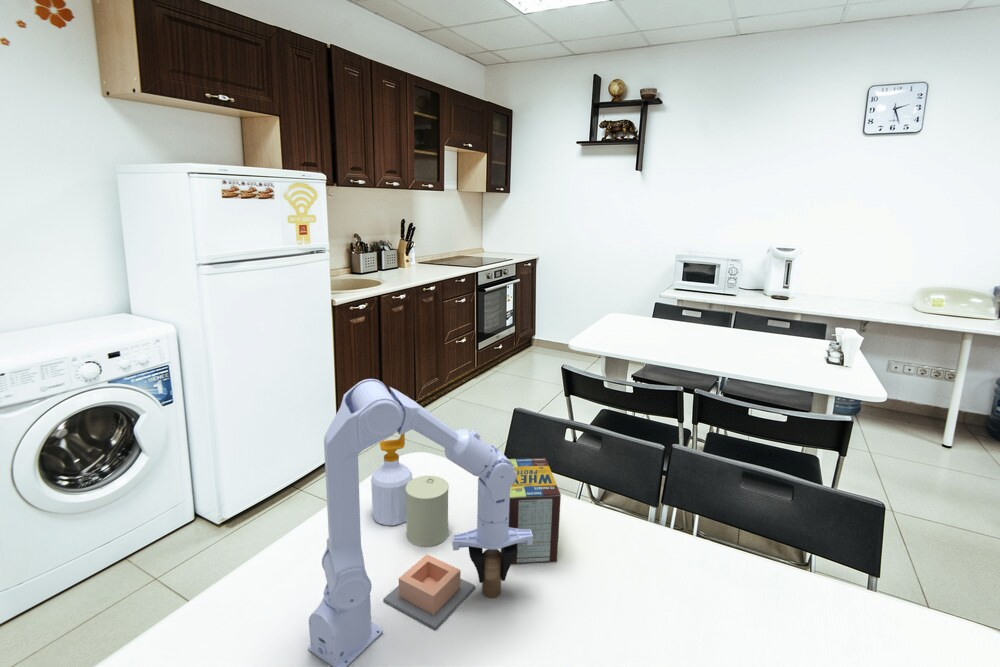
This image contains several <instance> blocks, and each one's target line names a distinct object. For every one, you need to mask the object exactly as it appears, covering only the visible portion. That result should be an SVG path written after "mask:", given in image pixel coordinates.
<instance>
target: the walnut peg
mask: <svg viewBox="0 0 1000 667" xmlns="http://www.w3.org/2000/svg"><path fill="white" fill-rule="evenodd" d="M483 557H484V560H483V583H481V589H482V590H481V592H482V595H483V596H484V597H486V598H487V599H488V598H489V599H496V598H497V597H498V596H500V595H501V593H502V592H501V591H502V580H501V566H502V553H501V550H500V549H495V550H491V549H484V551H483Z"/></svg>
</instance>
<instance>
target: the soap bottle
mask: <svg viewBox="0 0 1000 667" xmlns="http://www.w3.org/2000/svg"><path fill="white" fill-rule="evenodd" d="M405 440H406V438H405V433H404V434H401V435H400V436H399V438H398V439H389V440H381V441H380V442H379V447H380V450H381V451H383V452H386V453H385V455H383V464H381V465H380V466H378V467H377V468H376V469H375V470H374V471H373V473H372V475H371V479H370V481H371V482H370V483H371V485H370V486H371V504H372V505H371V506H372V517H373V519H374V521H375V522H376V523H378V524H380V525H383V526H396V525H401V524H403V523H407V507H406V490H405V488H406V485H407V483H408V482H409V481H411V480H412V479H413V473H412V471H411V469H410V468H409V467H408V466H406V465H405V464H403V463H401V462H400V459H399V458H400V456H399V454H398V453H396V451H398V450H401V449H403V448H404V447H405V444H406V442H405Z"/></svg>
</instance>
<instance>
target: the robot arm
mask: <svg viewBox="0 0 1000 667" xmlns="http://www.w3.org/2000/svg"><path fill="white" fill-rule="evenodd" d="M389 390H390V391H389ZM390 392H391V393H390ZM412 430H413V431H414V432H417V433H418V434H420V435H422V436H423V437H425V438H427V439H428V440H430V441H432V442H433V443H435V444H437V445H439V446H441V448H444V455H445V457H446V459H447V460H449V461H450V462H452V463H453V464H455V465H457V466H458V467H460V468H462V469H463V470H465V471H466V472H468V473H469V474H471V475H472V476H474V477H478V479H477V509H476V510H477V512H476V513H477V514H476V515H477V516H476V517H477V518H476V519H477V520H476V524H477V525H476V528H475V529H471V530H468V531H466V532H461V533H456V534H452V551H459V550H460V548H468V554H469V557H470V561H471V562H472V564H474V565H473V566H474V567H475V570H476V572H477V576H478V582H479V583H481V584H482V583H483V560H484V557H483V552H484V551H483V550H487V549H491V550H495V549H497V550H500V552H501V553H502V566H501V582H504V581H505V582H506V578H507V575H508V571H509V570H510V567H511V565H513V564H512V562H513V560H514V559H515V558H516V557H517V554H518V549H517V544H518V543H526V544H527V545H532V543H533V535H532V532H531V529H529V530H525V529H516V528H510V527H509V502H510V488H511V486H512V485H513V483H514V482H515V480H516V477H517V472H516V473H515V468H514V467H513V466H514V465H513V464H512V462H511V461H510V460H509V458H507V456H506V455H505V454H504V453H503V452H502V451H501V450H500V449H499V448H498V447H497V446H496V445H494V444H493V443H492V444H489V443H487V442H485V440H483V439H481V434H479V432H478V431H476V429H475V430H474V429H471V431H469V430H468V429H466V428H460V429H457V430H454V429H453V428H452V427H450V426H449V425H448V424H446V423H445V422H443V421H442V420H441V419H439V418H438V417H436V416H435V415H434V414H433V413H431V412H429V411H428V410H427V409H426V408H425V407H423V406H422V405H420V404H419V403H417V402H416V401H415V400H413V399H412V398H410V397H408V396H406V395H405V394H404V393H402V392H400V390H397V389H395V388H393V387H391V386H389V389H388V387H387V386H386V385H385V384H384V383H383V382H382V381H380V380H379V379H375V378H366V379H363V380H361V381H359V382H357V383H356V384H355V385H354V386H352V387H351V388H350V389H349V390H348V391H347V392H345V393H344V394H343V397H342V400H341V403H340V407H339V408H338V411H337V413H336V414H335V416H334V417H333V420H332V421H331V423H330V425H329V427H328V429H327V430H326V432H325V434H324V438H323V448H324V449H323V450H324V468H325V469H324V470H325V486H326V487H325V488H326V491H325V492H326V508H327V524H328V525H327V526H328V527H327V528H328V538H327V539H326V548H325V551H324V553H323V554H322V557H321V566H322V569H323V571H324V575H325V579H326V584H325V587H324V590H323V597H322V600H321V602H320V604H319V605H318V606H317V608H316V609H315V610H314V611H313V612H312V613H311V614H310V616H309V617H308V631H309V644H307V649H308V651H310V652H311V653H313V654H314V655H316V656H317V657H319V658H320V659H321V660H323V661H324V662H326V663H328V664H329V665H330V666H332V667H348V666H349V665H350V664H351V663H353V661H354V660H356V658H357V657H358V656H359V655H361V654H362V653H363V652H364V651H365V650H366V649H367V648H368V647H369V646H370V645H371V644H372V643H374V641H375V640H376V639H378V637H380V635H382V634H383V633H384V628H382V627H381V626H379V625H377V624H376V623H375V622H372V609H371V608H372V606H371V591H372V588H373V587H372V585H373V584H372V581H371V579H370V578H369V575H368V573H367V570H366V566H365V560H364V553H363V548H362V539H361V538H362V537H361V536H362V535H361V534H362V531H361V509H360V508H361V506H360V501H361V500H360V480H359V479H360V477H359V455H360V454H361V452H363V451H364V450H366V449H367V448H369V447H372V446H373V445H376V444H377V443H380V442H381V441H384V440H385V439H387V438H389V437H391V436H392V435H394V434H395V433H397V434H398V435H400V436H401V434H404V433H408V432H409V431H412Z"/></svg>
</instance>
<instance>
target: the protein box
mask: <svg viewBox="0 0 1000 667" xmlns="http://www.w3.org/2000/svg"><path fill="white" fill-rule="evenodd" d="M508 459H509V458H508ZM509 460H510V461H511V462H512V464H513V465H514V466H513V467H514V468H515V473H516V472H517V477H516V480H515V482H514V483H513V485H512V486H511V488H510V502H509V527H510V528H516V529H525V530H529V529H531V532H532V535H533V543H532V545H527V544H526V543H518V544H517V549H518V554H517V557H516V558H515V559H514V560H513V562H512V564H511V565H520V564H536V563H553V562H554V563H555V562H558V554H559V553H558V549H559V533H560V532H559V531H560V519H561V518H560V517H561V516H560V514H561V501H562V500H561V499H562V498H561V497H562V494H561V491H560V489H559V487H558V485H557V483H556V480H555V477H554V474H553V473H552V470H551V468H550V465H549V463H548V461H547V460H548V459H547V458H546V457H536V458H510V459H509Z"/></svg>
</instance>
